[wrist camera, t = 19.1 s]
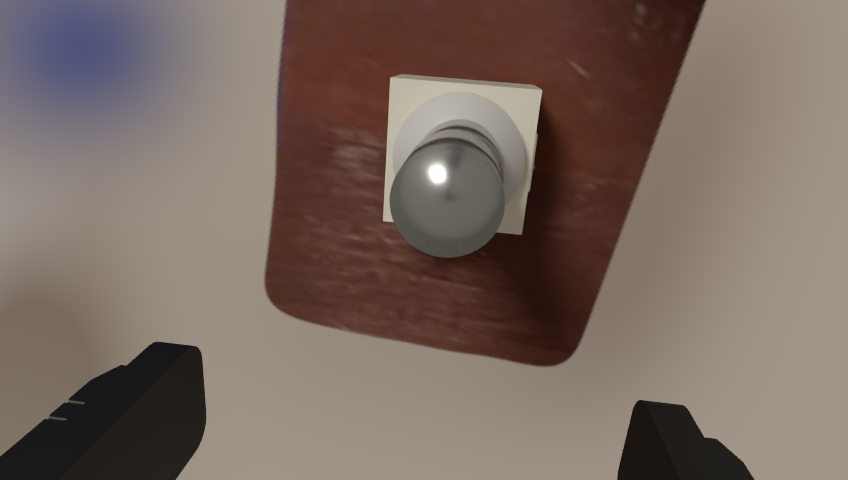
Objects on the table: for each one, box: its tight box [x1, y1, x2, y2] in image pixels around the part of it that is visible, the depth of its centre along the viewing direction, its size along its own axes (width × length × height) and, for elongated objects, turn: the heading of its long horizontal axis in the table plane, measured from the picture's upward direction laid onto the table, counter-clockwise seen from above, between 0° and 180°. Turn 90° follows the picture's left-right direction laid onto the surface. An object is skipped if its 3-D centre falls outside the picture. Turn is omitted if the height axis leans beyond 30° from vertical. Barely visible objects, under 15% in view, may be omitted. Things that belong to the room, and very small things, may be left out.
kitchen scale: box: [383, 74, 542, 235], centre depth 36 cm, size 9×9×6 cm
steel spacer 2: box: [390, 130, 505, 258], centre depth 26 cm, size 5×5×5 cm
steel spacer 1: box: [424, 119, 504, 185], centre depth 31 cm, size 5×5×5 cm
